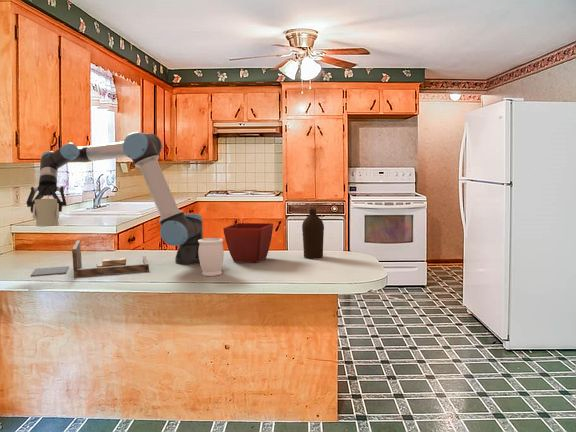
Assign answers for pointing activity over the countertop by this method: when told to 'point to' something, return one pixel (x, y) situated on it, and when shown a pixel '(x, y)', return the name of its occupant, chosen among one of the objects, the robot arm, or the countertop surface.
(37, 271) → the mat
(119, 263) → the offcut stack
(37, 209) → the can
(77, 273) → the rack
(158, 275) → the countertop surface
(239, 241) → the plant pot
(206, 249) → the jar
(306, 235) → the olive oil
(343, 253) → the countertop surface
